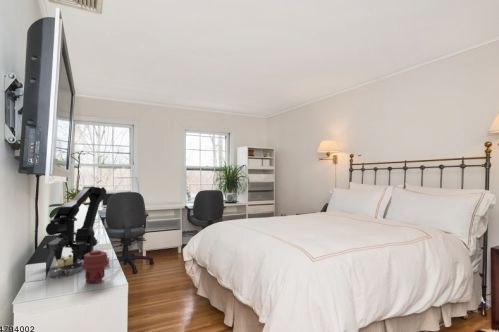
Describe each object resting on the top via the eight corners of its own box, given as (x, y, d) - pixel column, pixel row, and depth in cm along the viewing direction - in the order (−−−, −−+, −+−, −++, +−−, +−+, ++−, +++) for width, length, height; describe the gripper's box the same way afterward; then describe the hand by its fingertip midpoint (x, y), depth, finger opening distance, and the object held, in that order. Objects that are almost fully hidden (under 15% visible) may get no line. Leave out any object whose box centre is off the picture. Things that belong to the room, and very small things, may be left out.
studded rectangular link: (75, 265, 139) (75, 259, 139) (90, 266, 137) (90, 260, 137) (45, 276, 124) (45, 269, 124) (62, 278, 122) (62, 271, 122)
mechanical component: (105, 284, 115) (77, 287, 112) (110, 276, 124) (85, 278, 122) (106, 253, 115) (78, 255, 113) (111, 247, 125) (85, 249, 122)
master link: (69, 263, 143) (69, 254, 143) (75, 264, 142) (75, 254, 142) (57, 268, 136) (57, 258, 136) (63, 268, 135) (63, 258, 135)
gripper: (36, 233, 134) (35, 267, 133) (69, 235, 130) (69, 269, 129) (56, 229, 145) (56, 260, 144) (88, 230, 141) (87, 262, 140)
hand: (66, 263), depth 139 cm, fingers open, 9 cm apart
